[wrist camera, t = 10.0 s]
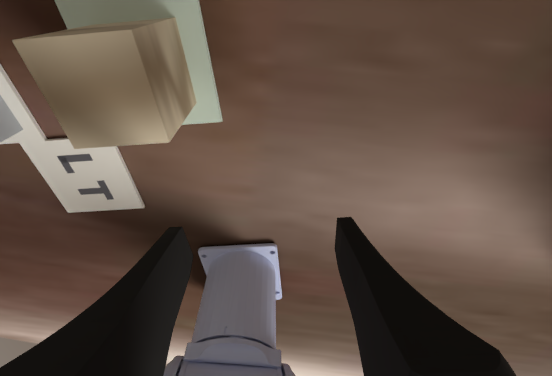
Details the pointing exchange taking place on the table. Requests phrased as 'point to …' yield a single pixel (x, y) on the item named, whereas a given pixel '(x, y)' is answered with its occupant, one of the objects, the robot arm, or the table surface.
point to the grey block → (7, 122)
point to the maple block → (113, 81)
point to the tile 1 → (19, 113)
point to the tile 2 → (85, 176)
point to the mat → (186, 9)
